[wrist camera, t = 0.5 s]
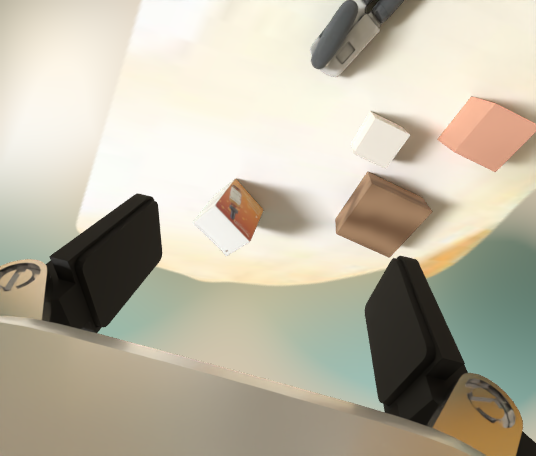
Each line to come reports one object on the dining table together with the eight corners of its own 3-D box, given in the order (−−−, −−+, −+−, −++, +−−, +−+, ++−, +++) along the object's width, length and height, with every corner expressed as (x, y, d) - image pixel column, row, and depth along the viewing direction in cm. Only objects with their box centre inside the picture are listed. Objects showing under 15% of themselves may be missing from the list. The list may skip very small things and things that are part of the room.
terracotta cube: (470, 96, 34) (495, 103, 29) (510, 116, 34) (541, 126, 29) (437, 139, 37) (454, 152, 32) (473, 157, 38) (495, 172, 33)
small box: (264, 209, 49) (251, 242, 40) (243, 223, 51) (226, 257, 43) (235, 176, 46) (215, 204, 38) (214, 193, 49) (191, 223, 40)
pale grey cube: (369, 110, 37) (375, 117, 33) (400, 126, 37) (410, 134, 33) (350, 143, 40) (353, 153, 36) (379, 157, 40) (385, 169, 36)
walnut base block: (367, 170, 42) (372, 183, 38) (422, 196, 42) (432, 211, 38) (335, 218, 47) (336, 233, 43) (383, 240, 48) (389, 257, 44)
